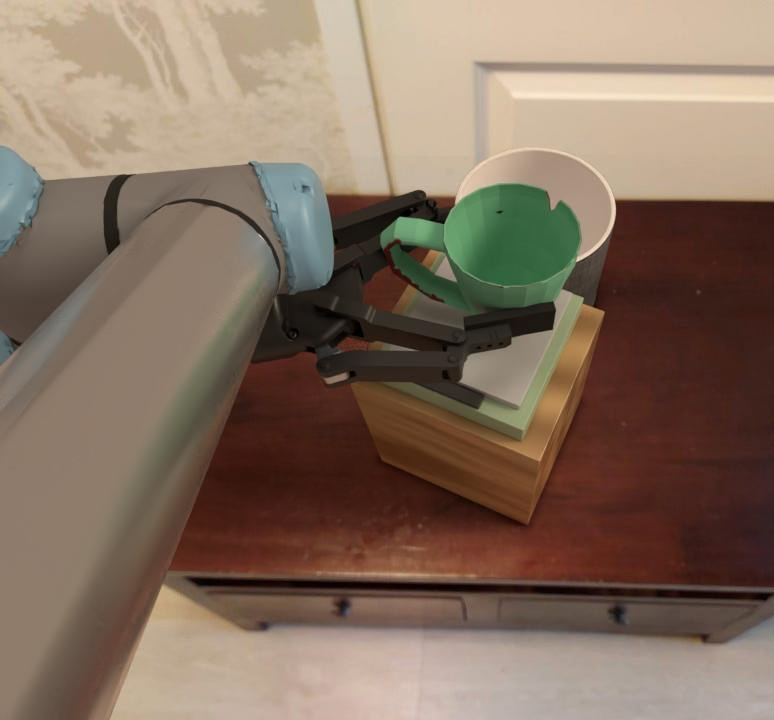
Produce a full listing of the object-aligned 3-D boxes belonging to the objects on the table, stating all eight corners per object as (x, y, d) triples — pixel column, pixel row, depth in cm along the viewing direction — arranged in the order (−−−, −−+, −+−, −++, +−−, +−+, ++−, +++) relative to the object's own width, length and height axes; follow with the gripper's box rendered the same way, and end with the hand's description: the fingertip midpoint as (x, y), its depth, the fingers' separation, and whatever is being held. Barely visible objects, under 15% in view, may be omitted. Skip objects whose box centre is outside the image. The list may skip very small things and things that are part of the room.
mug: (571, 273, 57) (586, 188, 48) (562, 371, 52) (577, 295, 43) (405, 256, 58) (390, 170, 49) (381, 350, 53) (360, 272, 44)
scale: (521, 441, 54) (523, 426, 51) (374, 380, 57) (368, 362, 54) (580, 312, 60) (585, 292, 57) (444, 262, 63) (442, 241, 60)
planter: (587, 232, 90) (605, 144, 76) (604, 343, 82) (627, 266, 68) (458, 236, 90) (453, 149, 76) (461, 348, 82) (455, 273, 68)
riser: (527, 525, 71) (539, 461, 53) (381, 460, 75) (348, 381, 57) (579, 403, 78) (605, 311, 60) (443, 349, 82) (430, 248, 64)
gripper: (248, 234, 56) (505, 193, 58) (258, 471, 46) (569, 411, 48) (216, 170, 49) (507, 125, 51) (219, 429, 39) (582, 362, 41)
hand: (537, 263), depth 50 cm, fingers closed on mug, 9 cm apart
